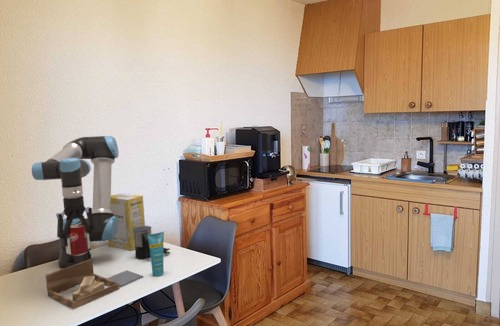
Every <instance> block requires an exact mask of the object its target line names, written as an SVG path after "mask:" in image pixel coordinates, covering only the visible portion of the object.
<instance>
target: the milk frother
mask: <svg viewBox="0 0 500 326" xmlns="http://www.w3.org/2000/svg"><path fill="white" fill-rule="evenodd" d="M133 230H134V241H135V250H134V251H135V252H134V257H135V258H136V259H139V260H145V259H149V258H150V259H151V255H150V248H149V242H148V237H147V235H149V234H152V226H150V225H145V226H140V227H136V228H134V229H133ZM170 250H171V249H170V248H166V247H163V254H165V253H167V252H168V251H170Z"/></svg>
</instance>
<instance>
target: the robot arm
mask: <svg viewBox="0 0 500 326" xmlns="http://www.w3.org/2000/svg"><path fill="white" fill-rule="evenodd" d="M117 143H118V142H117V139H115V137H114V136H111V135H99V136H81V137H79V138H76V139H74V140H71V141H69V142H68V143H66V144H65V145H64V146H63V147H62V149H61V150H60V151H58V152H56V154H54V155H53V156H51V157H50V158H49V159H47V160H46V161H39V162H34V163H33V164H32V167H31V175H32V178H33V179H34V180H36V181H49V180H60V181H61V190H62V191H61V192H62V193H61V194H62V197H63V198H62V199H63V202H62V203H63V211H61V212H57V213H56V214H55V215H56V218H57V228H56V236H57V238H58V239H59V243H60V253H59V256H58V262H57V263H58V264H57V265H58V267H59V268H61V269H64V268H66V267H69V266H72V265H75V264H78V263H81V262H84V261H87V260H90V259H92V254H91V252H90V250H89V249H91V244H90V242H91V243H92V242H107V241H108V240H112V239H113V238H114V237H115V235H116V232H117V225H118V222H117V217H115V216H114V213H113V212H112V211H111V195H112V168H113V167H112V166H113V164H114V163H116V162H115V161H116V159H118V158H119V153H120V152H119V147H118V144H117ZM87 160H90V162H91V163H92V164H93V181H92V182H93V184H92V185H93V187H92V188H93V189H92V207H90V206H87V207H86V206H85V202H84V201H85V200H84V196H83V195H84V191H83V189H84V188H83V180H82V178H84V177H87V176H88V175H89V174H90V172H91V168H92V166H91V164H90V162H89V161H87ZM85 213H86V217H85V216H84V214H85ZM74 223H82V224H85V225H86V235H87V246H88V251H87V253H85V254H83V255H79V256H71V255H70V254H71V249H70V239H69V238H68V233H69V228H70V226H71V224H74ZM92 260H93V259H92Z"/></svg>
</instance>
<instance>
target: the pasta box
mask: <svg viewBox="0 0 500 326" xmlns="http://www.w3.org/2000/svg"><path fill="white" fill-rule="evenodd" d="M111 211H112V212H113V213H114V216H115V217H117V222H118V225H117V232H116V235H115V237H114V238H113V239H112V240H107V241H108V247H110V248H115V249H119V250H125V251H130V252H134V251H135V241H134V230H133V229H134V228H136V227H140V226H146V221H145V207H144V195H139V194H138V195H137V194H127V193H115V194H111Z"/></svg>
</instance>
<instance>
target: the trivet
mask: <svg viewBox="0 0 500 326" xmlns="http://www.w3.org/2000/svg"><path fill="white" fill-rule="evenodd" d="M106 278H107V279H109V280H112V281H115V282H117V283H119V287H120V288H123V287H125V286H127V285H130V284H132V283H133V282H136V281H139V280H140V278H141V279H143V278H144V275H142V274H138V273H135V272H134V271H129V270H124V271H121V272H118V273H117V274H114V275H112V276H109V277H106ZM138 279H139V280H138Z"/></svg>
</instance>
